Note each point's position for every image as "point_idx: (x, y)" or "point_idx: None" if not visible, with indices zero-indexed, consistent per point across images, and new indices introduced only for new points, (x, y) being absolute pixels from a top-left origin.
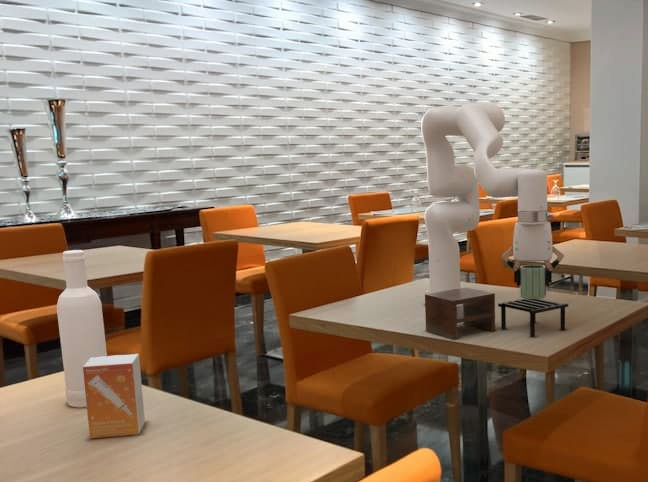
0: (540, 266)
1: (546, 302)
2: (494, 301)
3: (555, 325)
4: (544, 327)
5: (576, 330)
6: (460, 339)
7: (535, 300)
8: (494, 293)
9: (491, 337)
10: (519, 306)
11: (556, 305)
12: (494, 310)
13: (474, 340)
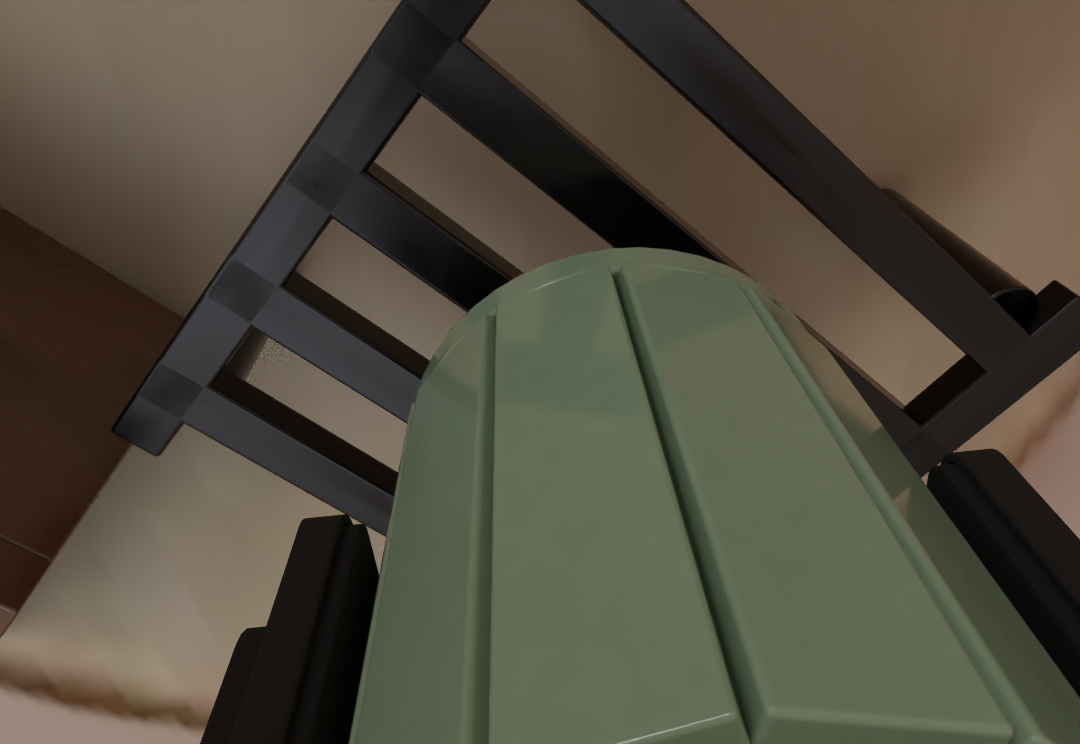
0: None
1: (803, 206)
2: (72, 529)
3: (821, 8)
4: (692, 128)
5: (1016, 213)
6: (44, 621)
7: (619, 36)
8: (12, 612)
9: (261, 542)
10: None
11: (924, 446)
12: (123, 455)
13: (164, 629)
